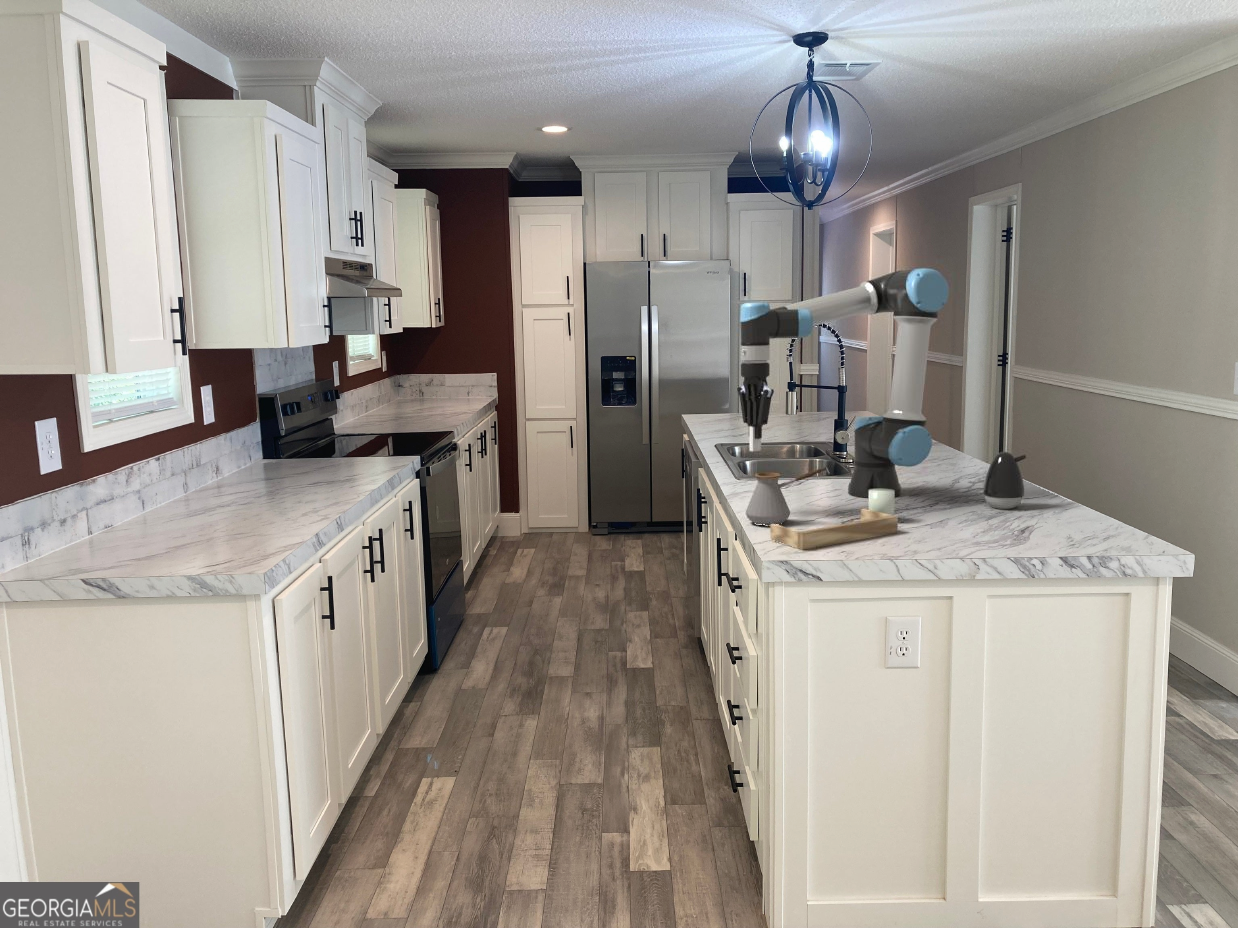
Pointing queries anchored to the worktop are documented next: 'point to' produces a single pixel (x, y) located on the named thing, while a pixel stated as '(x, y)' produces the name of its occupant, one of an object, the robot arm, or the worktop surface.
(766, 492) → the coffee pot
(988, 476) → the pump dispenser
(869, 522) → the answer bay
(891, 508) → the green jar
